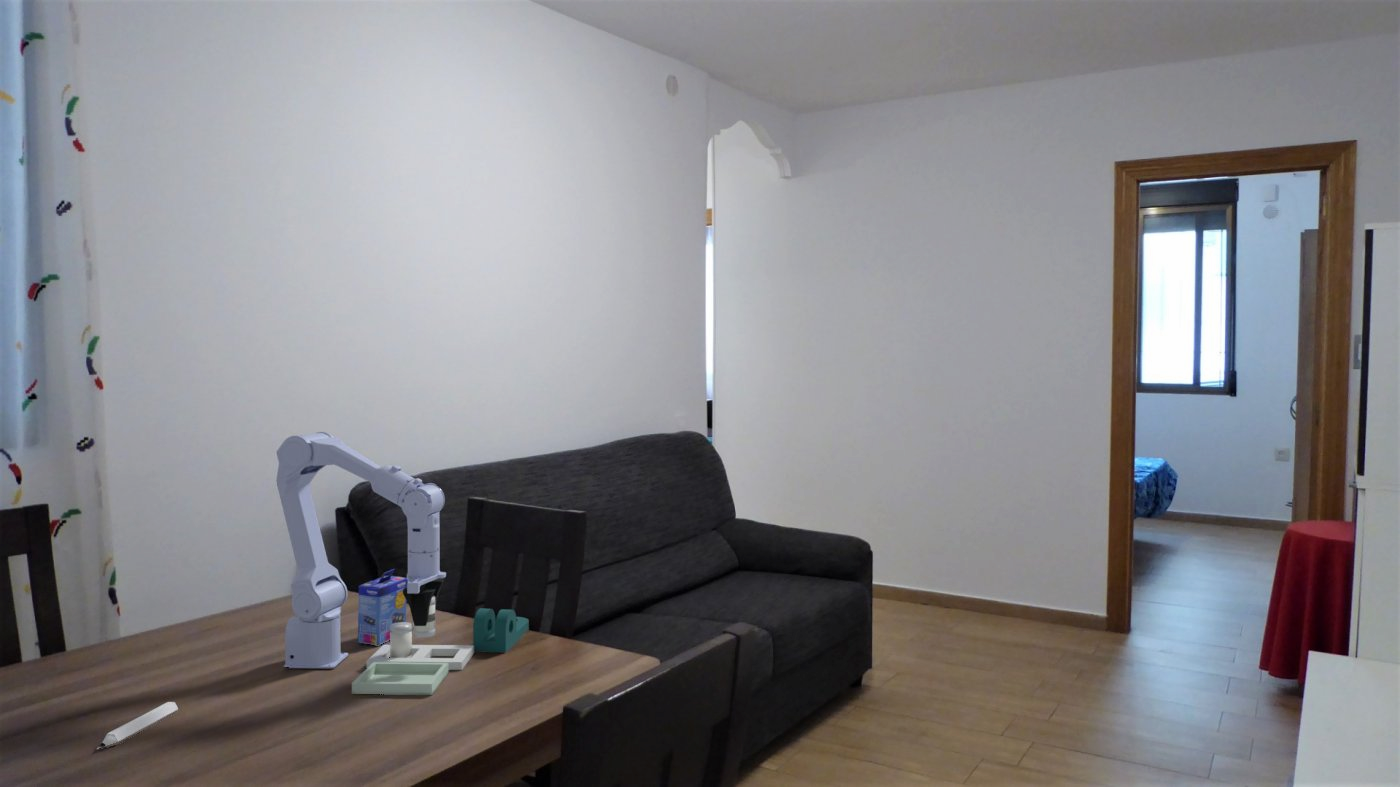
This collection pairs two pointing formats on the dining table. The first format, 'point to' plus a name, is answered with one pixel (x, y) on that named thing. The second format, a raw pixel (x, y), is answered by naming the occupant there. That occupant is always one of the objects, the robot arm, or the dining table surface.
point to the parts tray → (400, 678)
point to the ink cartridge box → (380, 608)
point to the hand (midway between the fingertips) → (423, 621)
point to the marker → (139, 723)
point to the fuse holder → (428, 655)
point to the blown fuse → (430, 627)
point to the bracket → (497, 630)
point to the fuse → (401, 640)
